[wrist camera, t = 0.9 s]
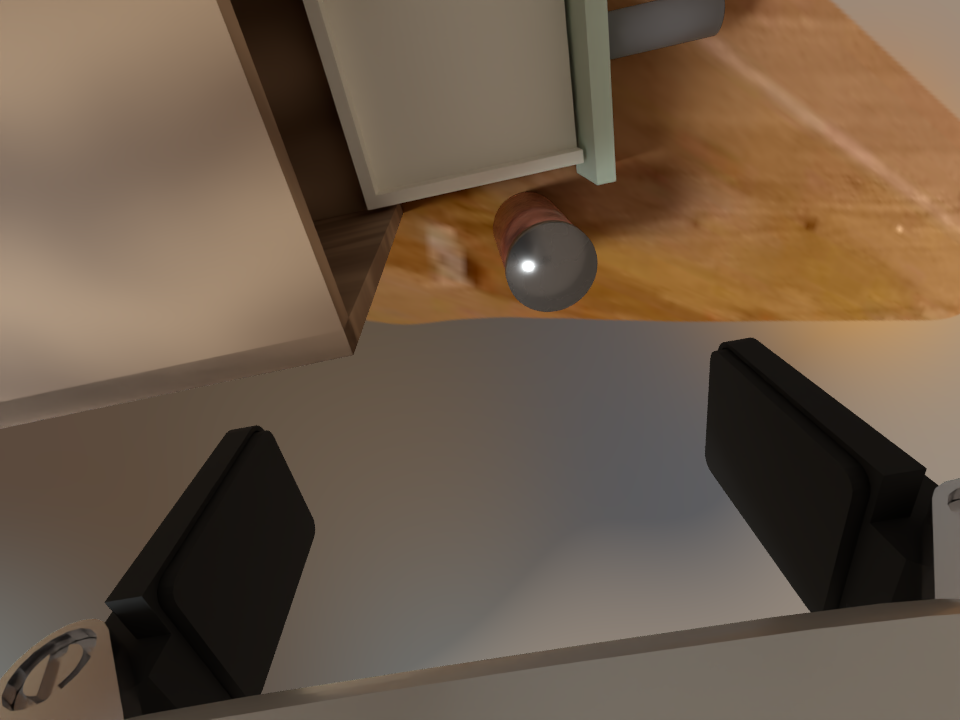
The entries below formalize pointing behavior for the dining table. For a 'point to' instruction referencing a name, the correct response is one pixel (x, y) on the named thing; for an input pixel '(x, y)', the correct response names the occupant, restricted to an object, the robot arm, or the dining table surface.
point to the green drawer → (484, 85)
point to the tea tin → (543, 253)
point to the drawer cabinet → (172, 202)
